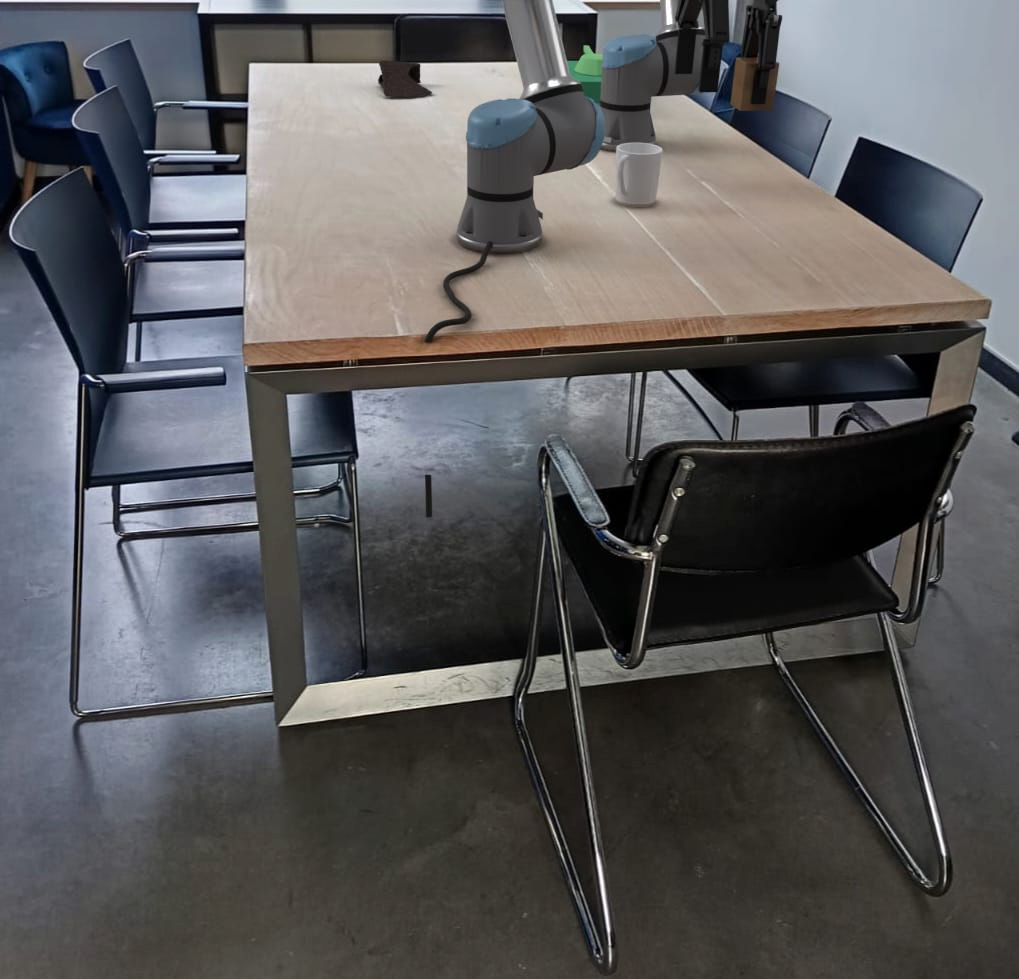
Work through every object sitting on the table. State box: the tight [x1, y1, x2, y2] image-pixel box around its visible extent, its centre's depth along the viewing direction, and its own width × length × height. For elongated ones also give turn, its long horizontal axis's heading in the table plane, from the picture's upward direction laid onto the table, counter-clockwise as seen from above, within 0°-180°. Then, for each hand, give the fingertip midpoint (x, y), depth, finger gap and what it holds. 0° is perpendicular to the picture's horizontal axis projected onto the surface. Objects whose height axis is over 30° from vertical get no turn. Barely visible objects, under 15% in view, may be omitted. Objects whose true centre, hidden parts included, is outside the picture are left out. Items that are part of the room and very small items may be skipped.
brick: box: [730, 57, 780, 112], centre depth 222 cm, size 7×6×9 cm
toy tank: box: [567, 44, 603, 106], centre depth 290 cm, size 18×12×35 cm
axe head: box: [377, 59, 433, 99], centre depth 299 cm, size 18×8×15 cm
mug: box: [614, 143, 664, 208], centre depth 214 cm, size 11×9×10 cm
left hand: (695, 82), depth 168 cm, fingers open, 13 cm apart
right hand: (752, 99), depth 224 cm, fingers closed on brick, 6 cm apart
